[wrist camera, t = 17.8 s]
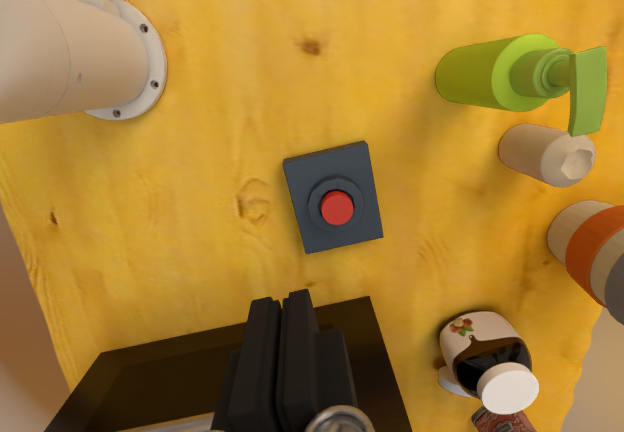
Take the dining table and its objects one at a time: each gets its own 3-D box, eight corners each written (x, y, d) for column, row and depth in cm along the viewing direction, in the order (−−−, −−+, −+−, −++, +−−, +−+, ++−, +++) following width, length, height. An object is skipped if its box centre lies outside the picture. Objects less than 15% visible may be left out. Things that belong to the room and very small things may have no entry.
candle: (488, 146, 45) (538, 164, 35) (526, 113, 43) (588, 122, 34) (514, 177, 46) (568, 202, 37) (551, 145, 45) (617, 163, 35)
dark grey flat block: (283, 159, 44) (281, 166, 41) (364, 140, 44) (370, 146, 40) (305, 246, 49) (306, 260, 45) (379, 230, 48) (386, 242, 44)
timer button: (317, 194, 42) (318, 199, 41) (348, 187, 42) (350, 192, 40) (324, 222, 44) (325, 228, 42) (354, 216, 43) (356, 221, 42)
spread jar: (495, 298, 52) (547, 355, 41) (511, 356, 56) (562, 422, 45) (415, 325, 54) (445, 388, 43) (436, 380, 57) (467, 451, 47)
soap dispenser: (439, 116, 43) (546, 146, 24) (431, 54, 41) (544, 34, 22) (488, 104, 43) (635, 124, 24) (484, 40, 40) (643, 8, 22)
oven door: (86, 326, 52) (-100, 542, 28) (363, 266, 50) (422, 443, 26) (105, 361, 54) (-52, 589, 30) (371, 305, 52) (432, 501, 28)
